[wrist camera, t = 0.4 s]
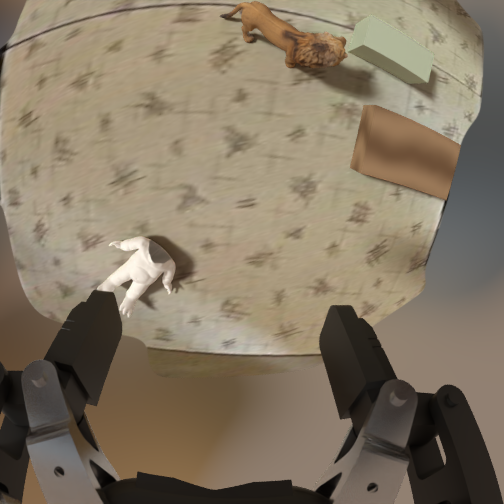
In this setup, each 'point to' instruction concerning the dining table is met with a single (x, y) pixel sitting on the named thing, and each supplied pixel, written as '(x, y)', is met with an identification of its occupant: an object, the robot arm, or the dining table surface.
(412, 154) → the walnut brick
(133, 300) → the toy creature
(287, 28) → the lion figurine
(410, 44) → the sage brick
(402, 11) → the dining table surface
